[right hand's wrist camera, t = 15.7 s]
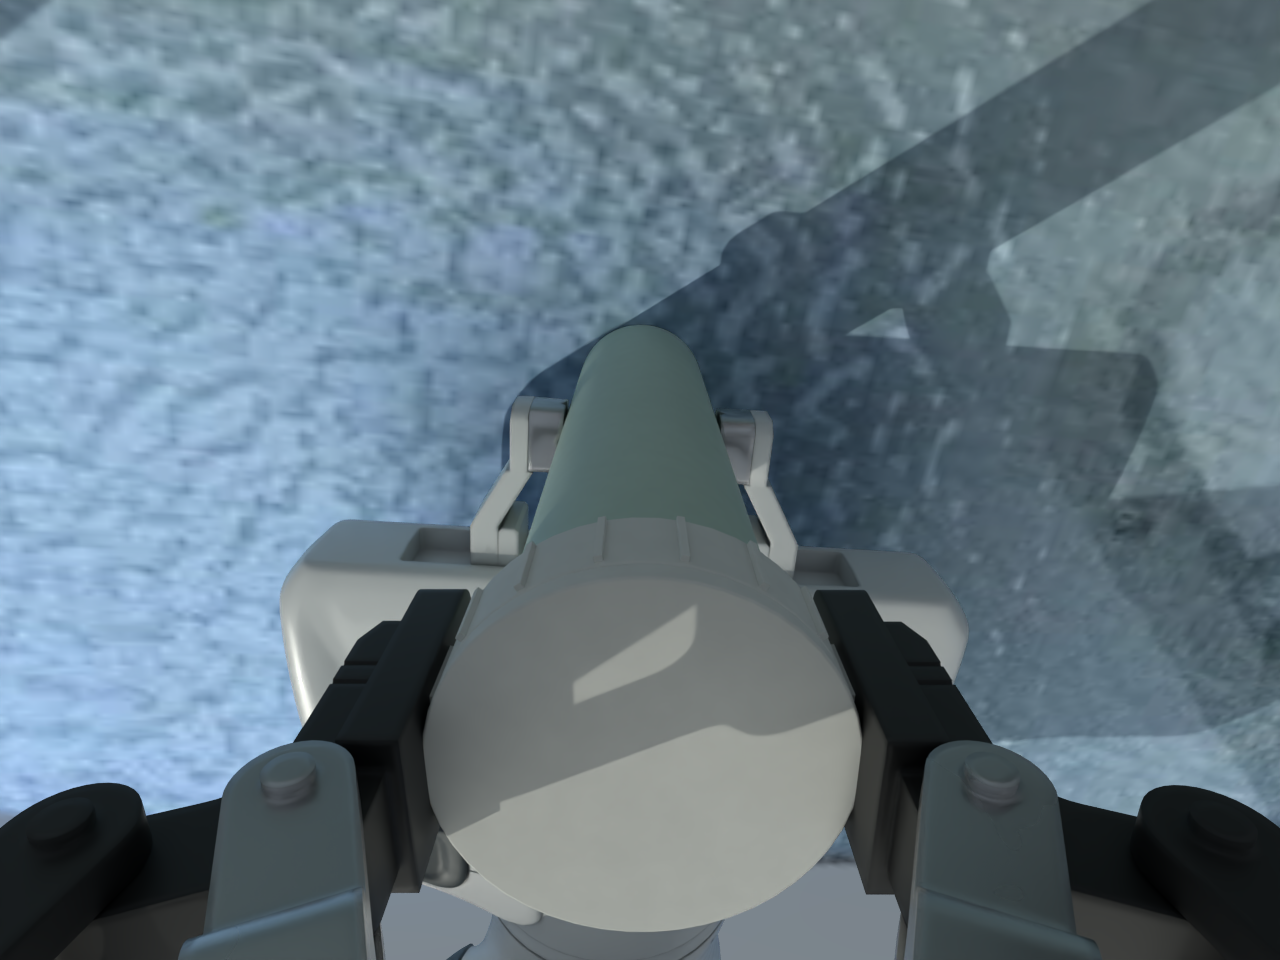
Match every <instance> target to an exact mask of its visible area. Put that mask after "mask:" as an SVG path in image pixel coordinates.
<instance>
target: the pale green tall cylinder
mask: <svg viewBox="0 0 1280 960" xmlns="http://www.w3.org/2000/svg"><path fill="white" fill-rule="evenodd" d="M603 516H606V519H607V520H613V519H622V518H632V517H633V518H664V519H671V520H676V517H677V516H682V517H685V521H686V522H690V523H693V524H697V525H701V526H705V527H709V528H712V529H715V530H717V531H720V532H722V533H725V534H727V535H730V536H732V537H735V538H737V539H739V540H741V541H742V542H744V543H746V544H748V542H749V541H750V540H751V541H753V542H755V543H756V544H757V546H758V543H757V540H756V537H755V534H754V531H753V528H752V525H751V522H750V519H749V516H748V513H747V510H746V507H745V504H744V501H743V498H742V495H741V492H740V489H739V486H738V483H737V480H736V477H735V474H734V471H733V468H732V465H731V462H730V459H729V456H728V453H727V450H726V447H725V444H724V441H723V438H722V435H721V432H720V429H719V426H718V423H717V420H716V417H715V414H714V411H713V408H712V405H711V402H710V399H709V396H708V393H707V390H706V387H705V384H704V381H703V378H702V375H701V372H700V369H699V366H698V363H697V361H696V359H695V357H694V355H693V353H692V352H691V350H690V349H689V348H688V346H687V345H686V344H685V343H684V342H683V341H682V340H681V339H679V338H678V337H677V336H676V335H674V334H672V333H671V332H669V331H667V330H664V329H662V328H659V327H655V326H650V325H631V326H626V327H622V328H620V329H617V330H615V331H613V332H611V333H609V334H607V335H606V336H605V337H603V338H602V339H601V340H600V341H599V342H598V343H597V344H596V345H595V346H594V347H593V348H592V350H591V351H590V352H589V354H588V356H587V358H586V360H585V362H584V364H583V367H582V370H581V373H580V377H579V380H578V383H577V386H576V389H575V392H574V395H573V398H572V401H571V405H570V408H569V411H568V414H567V417H566V420H565V423H564V426H563V429H562V432H561V436H560V439H559V442H558V445H557V448H556V451H555V454H554V457H553V460H552V464H551V467H550V470H549V473H548V476H547V479H546V482H545V485H544V488H543V492H542V495H541V498H540V501H539V504H538V507H537V510H536V513H535V516H534V520H533V523H532V526H531V529H530V532H529V535H528V538H527V541H526V544H525V547H526V545H527V544H528V543H530V542H532V541H533V542H534V543H535V545H537V544H539V543H541V542H542V541H544V540H546V539H548V538H550V537H552V536H554V535H557V534H560V533H562V532H565V531H568V530H570V529H573V528H576V527H579V526H583V525H587V524H592V523H596V522H597V520H598V517H603ZM525 547H524V550H525ZM758 549H759V546H758ZM759 551H760V549H759ZM523 553H524V551H523Z"/></svg>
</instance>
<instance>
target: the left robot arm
mask: <svg viewBox="0 0 1280 960" xmlns="http://www.w3.org/2000/svg"><path fill="white" fill-rule="evenodd" d="M568 411H569V401H568V399H558V398H545V397H535V396H517V398H516V400H515V401H514V403H513V405H512V411H511V418H510V459H509V460H508V462H507V463H506V465H505V466H504V468H503V470H502V471H501V473H500V474H499V476H498V477H497V479H496V481H495V482H494V484H493V485H492V487H491V488H490V490H489V492H488V493H487V495H486V496H485V498H484V500H483V502H482V504H481V506H480V508H479V510H478V511H477V513H476V515H475V517H474V519H473V521H472V523H471V525H470V527H469V526H452V525H435V524H419V523H402V522H385V521H369V520H351V519H350V520H342V521H339V522H337V523H335V524H334V525H333V526H331V527H330V528H329V529H328V530H327V531H326V532H325V533H324V534H323V535H322V536H321V537H320V538H318V539H317V540H316V541H315V542H314V543H313V544H312V545H311V546H310V547H309V548H308V549H307V550H306V551H305V552H304V553H303V555H302V556H301V557H300V558H299V560H298V561H297V562H296V563H295V565H294V566H293V567H292V569H291V570H290V572H289V573H288V575H287V576H286V578H285V581H284V583H283V586H282V588H281V593H280V619H281V627H282V635H283V642H284V648H285V654H286V660H287V665H288V671H289V676H290V680H291V685H292V689H293V694H294V698H295V702H296V706H297V710H298V714H299V718H300V721H301V725H302V728H303V726H304V724H305V723H306V721H307V720H308V718H309V716H310V715H311V713H312V712H313V710H314V708H315V707H316V705H317V704H318V702H319V700H320V699H321V697H322V696H323V694H324V692H325V691H326V689H327V688H328V686H329V684H332V683H333V678H334V676H335V675H336V673H337V672H338V670H339V668H340V667H341V665H344V660H345V659H346V657H347V656H348V654H349V652H350V651H351V649H352V648H353V646H354V644H355V643H356V641H357V640H358V639H359V638H360V637H362V636H363V635H364V634H366V633H367V632H368V631H370V630H371V629H372V628H374V627H375V626H376V625H378V624H379V623H381V622H382V621H401V620H402V618H403V616H404V614H405V612H406V611H407V609H408V607H409V605H410V603H411V601H412V600H413V598H414V596H415V594H416V593H417V591H418V590H419V589H467V590H468V591H469V593H470V596H471V598H472V596H473V593H474V591H475V590H476V589H477V588H478V587H479V588H481V589H482V590H483V589H484V588H485V587H486V586H487V584H488V583H489V582H490V581H491V579H492V578H493V577H494V576H496V575H497V574H498V573H499V572H500V571H501V570H502V569H503V568H504V567H505V566H506V565H507V564H508V563H510V562H511V561H512V560H514V559H515V558H517V557H518V556H519V555H521V554H522V553H523V551H524V547H525V544H526V541H527V538H528V535H529V532H530V530H528V504H527V503H526V502H524V501H515V500H516V498H517V496H518V495H519V493H520V492H521V490H522V489H523V487H524V485H525V484H526V482H527V481H528V479H529V478H530V476H531V475H532V473H533V472H549V470H550V467H551V464H552V460H553V457H554V454H555V451H556V448H557V445H558V442H559V439H560V436H561V432H562V429H563V426H564V423H565V420H566V417H567V414H568ZM715 417H716V420H717V423H718V426H719V429H720V432H721V435H722V438H723V441H724V444H725V447H726V450H727V453H728V456H729V459H730V462H731V465H732V468H733V471H734V474H735V477H736V480H737V483H738V484H744V487H745V489H746V491H747V493H748V496H749V498H750V500H751V502H752V504H753V506H754V508H755V510H756V513H757V515H758V517H759V518H758V517H757V516H756V515H748V516H749V519H750V522H751V525H752V528H753V531H754V534H755V537H756V540H757V543H758V546H759V549H760V552H761V553H763V554H764V555H765V556H767V557H768V558H769V559H771V560H772V561H773V562H775V563H776V564H777V565H779V566H780V567H781V568H782V569H783V570H784V571H785V572H786V573H787V574H788V575H789V576H790V577H791V578H792V579H793V580H794V581H795V582H796V583H797V585H798V586H799V587H800V589H801V588H802V587H804V586H806V587H807V588H808V589H809V591H810V593H811V595H812V598H813V596H814V593H815V591H816V590H865V591H866V592H867V593H868V595H869V596H870V598H871V600H872V602H873V603H874V605H875V607H876V609H877V611H878V612H879V614H880V616H881V618H882V619H883V621H884V622H903V623H904V624H905V625H907V626H908V627H909V628H911V629H912V630H914V631H915V632H916V633H918V634H919V635H920V636H922V637H923V638H924V639H926V640H927V641H928V643H929V644H930V646H931V648H932V649H933V651H934V652H935V654H936V655H937V657H938V659H939V660H940V662H941V666H944V668H945V670H946V671H947V673H948V674H949V676H950V678H951V679H952V684H953V685H954V682H955V679H956V676H957V674H958V671H959V668H960V665H961V662H962V659H963V656H964V653H965V649H966V645H967V642H968V636H969V626H968V621H967V618H966V616H965V613H964V611H963V609H962V608H961V606H960V604H959V602H958V601H957V599H956V598H955V596H954V595H953V593H952V592H951V590H950V589H949V587H948V586H947V584H946V583H945V582H944V581H943V580H942V578H941V577H940V576H939V575H938V574H937V573H936V572H935V571H934V570H933V568H932V567H931V566H930V565H929V564H928V563H927V562H926V561H925V560H924V559H923V558H922V557H920V556H919V555H917V554H914V553H907V552H894V551H877V550H860V549H843V548H826V547H809V546H798V544H797V542H796V539H795V537H794V535H793V533H792V530H791V528H790V526H789V523H788V521H787V519H786V517H785V514H784V512H783V510H782V508H781V506H780V504H779V501H778V499H777V497H776V495H775V493H774V491H773V488H772V486H771V484H770V482H769V480H768V474H769V466H770V458H771V451H772V443H773V422H772V419H771V418H770V416H769V414H768V413H767V411H758V410H742V409H722V408H717V410H716V414H715ZM422 884H423V885H426V886H429V887H431V888H434V889H437V890H440V891H442V892H445V893H447V894H450V895H453V896H455V897H457V898H460V899H462V900H464V901H467V902H469V903H471V904H473V905H475V906H477V907H479V908H481V909H483V910H485V911H487V912H489V913H491V914H492V919H491V923H490V926H489V928H488V931H487V934H486V936H485V938H484V940H483V941H482V942H481V943H480V944H479V945H477V946H473V944H469V945H467V946H465V947H464V948H462V949H460V950H459V951H457V952H456V953H454V954H453V955H452V956H451V957H449V958H448V959H447V960H721V955H720V944H719V938H718V932H719V931H720V928H721V926H722V924H723V922H724V920H725V919H723V920H720V921H716V922H713V923H709V924H706V925H701V926H696V927H690V928H685V929H679V930H669V931H657V932H625V931H616V930H606V929H599V928H594V927H589V926H584V925H579V924H574V923H571V922H568V921H565V920H562V919H558V918H555V917H552V916H549V915H547V914H545V913H542V912H540V911H538V910H535V909H533V908H530V907H528V906H526V905H524V904H523V903H521V902H519V901H517V900H515V899H514V898H512V897H510V896H508V895H506V894H505V893H503V892H502V891H501V890H499V889H498V888H497V887H495V886H494V885H492V884H491V883H490V882H488V881H487V880H485V879H484V878H483V877H482V876H481V875H480V874H479V873H478V872H477V871H476V870H475V869H473V868H472V867H471V866H470V865H469V864H468V863H467V862H466V861H465V859H464V858H463V857H462V856H461V855H460V854H459V852H458V851H457V850H456V849H455V848H454V846H453V845H452V844H451V842H450V841H449V839H448V837H447V836H446V834H445V833H444V831H443V829H442V828H441V826H440V828H439V831H438V834H437V837H436V841H435V844H434V847H433V850H432V853H431V857H430V860H429V863H428V866H427V869H426V873H425V876H424V879H423V882H422Z"/></svg>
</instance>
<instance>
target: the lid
mask: <svg viewBox="0 0 1280 960" xmlns="http://www.w3.org/2000/svg"><path fill="white" fill-rule="evenodd" d="M828 637H829V636H828V633H827V631H826V628H825V626H824V624H823V621H822V619H821V617H820V614H819V612H818V610H817V607H816V605H815V602H814V600H813V598H812V595H811V593H810V591H809V589H808V588H807V587H806V586H804V587H802V588H801V589H800V587H799V586H798V585H797V583H796V582H795V581H794V580H793V579H792V578H791V577H790V576H789V575H788V574H787V573H786V572H785V571H784V570H783V569H782V568H781V567H780V566H779V565H777V564H776V563H775V562H773V561H772V560H771V559H769V558H768V557H767V556H765V555H764V554H763V553H761V552H760V551H759V549H758V546H757V544H756V543H755V542H753V541H751V540H750V541H749V542H748V544H746V543H744V542H742V541H741V540H739V539H737V538H735V537H732V536H730V535H727V534H725V533H722V532H720V531H717V530H715V529H712V528H709V527H705V526H701V525H697V524H693V523H690V522H686V521H685V517H682V516H677V517H676V520H671V519H664V518H633V517H632V518H622V519H613V520H607V519H606V516H603V517H598V520H597V522H596V523H592V524H587V525H583V526H579V527H576V528H573V529H570V530H568V531H565V532H562V533H560V534H557V535H554V536H552V537H550V538H548V539H546V540H544V541H542V542H541V543H539V544H537V545H535V543H534V542H533V541H532V542H530V543H528V544H527V545H526V547H525V550H524V553H522V554H521V555H519V556H518V557H517V558H515V559H514V560H512V561H511V562H510V563H508V564H507V565H506V566H505V567H504V568H503V569H502V570H501V571H500V572H499V573H498V574H497V575H496V576H494V577H493V578H492V579H491V581H490V582H489V583H488V584H487V586H486V587H485V588H484V589H483V590H482V589H481V588H479V587H478V588H477V589H476V590H475V591H474V593H473V596H472V598H471V601H470V603H469V605H468V608H467V610H466V613H465V615H464V618H463V620H462V623H461V625H460V627H459V630H458V632H457V635H456V637H455V639H456V642H455V644H454V646H450V648H449V650H448V652H447V655H446V657H445V660H444V662H443V665H442V667H441V669H440V672H439V674H438V677H437V679H436V681H435V684H434V686H433V689H432V691H431V694H430V696H429V697H430V706H429V708H428V712H427V716H426V721H425V725H424V730H423V750H424V759H425V767H426V776H427V784H428V791H429V798H430V804H431V807H432V809H433V811H434V813H435V816H436V818H437V820H438V822H439V825H440V826H441V828H442V829H443V831H444V833H445V834H446V836H447V837H448V839H449V841H450V842H451V844H452V845H453V846H454V848H455V849H456V850H457V851H458V852H459V854H460V855H461V856H462V857H463V858H464V859H465V861H466V862H467V863H468V864H469V865H470V866H471V867H472V868H473V869H475V870H476V871H477V872H478V873H479V874H480V875H481V876H482V877H483V878H484V879H485V880H487V881H488V882H490V883H491V884H492V885H494V886H495V887H497V888H498V889H499V890H501V891H502V892H503V893H505V894H506V895H508V896H510V897H512V898H514V899H515V900H517V901H519V902H521V903H523V904H524V905H526V906H528V907H530V908H533V909H535V910H538V911H540V912H542V913H545V914H547V915H549V916H552V917H555V918H558V919H562V920H565V921H568V922H571V923H574V924H579V925H584V926H589V927H594V928H599V929H606V930H616V931H625V932H657V931H669V930H679V929H685V928H690V927H696V926H701V925H706V924H709V923H713V922H716V921H720V920H723V919H727V918H730V917H732V916H735V915H737V914H740V913H742V912H745V911H747V910H750V909H752V908H754V907H756V906H758V905H760V904H762V903H763V902H765V901H767V900H769V899H771V898H773V897H775V896H776V895H778V894H779V893H781V892H782V891H784V890H785V889H787V888H788V887H790V886H791V885H792V884H794V883H795V882H796V881H798V880H799V879H800V878H801V877H802V876H803V875H804V874H806V873H807V872H808V871H809V870H810V869H811V868H813V867H814V866H815V864H816V863H817V862H818V861H819V860H820V859H821V858H822V857H823V856H824V854H825V853H826V852H827V851H828V850H829V849H830V847H831V846H832V844H833V843H834V841H835V840H836V838H837V837H838V836H839V834H840V833H841V831H842V830H843V828H844V826H845V824H846V821H847V819H848V817H849V815H850V813H851V811H852V809H853V806H854V801H855V795H856V787H857V779H858V771H859V764H860V756H861V746H862V730H861V724H860V719H859V714H858V711H857V709H856V706H855V703H854V701H855V693H854V690H853V688H852V686H851V683H850V681H849V678H848V676H847V674H846V671H845V669H844V667H843V664H842V662H841V660H840V657H839V655H838V652H837V650H836V648H835V645H834V644H830V642H829V639H828Z"/></svg>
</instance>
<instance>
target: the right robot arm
mask: <svg viewBox="0 0 1280 960" xmlns="http://www.w3.org/2000/svg"><path fill="white" fill-rule="evenodd" d="M813 600H814V602H815V605H816V607H817V610H818V612H819V614H820V617H821V619H822V621H823V624H824V626H825V628H826V631H827V633H828V636H829V637H828V639H829V642H830V644H834V645H835V648H836V650H837V652H838V655H839V657H840V660H841V662H842V664H843V667H844V669H845V671H846V674H847V676H848V678H849V681H850V683H851V686H852V688H853V690H854V693H855V701H854V703H855V706H856V709H857V711H858V714H859V719H860V724H861V730H862V746H861V756H860V764H859V771H858V779H857V787H856V795H855V801H854V806H853V809H852V811H851V813H850V815H849V817H848V819H847V821H846V824H845V826H844V827H845V830H846V833H847V836H848V839H849V842H850V846H851V849H852V852H853V855H854V858H855V861H856V864H857V868H858V870H859V874H860V877H861V880H862V883H863V886H864V889H865V892H866V894H895V897H896V900H897V902H898V905H899V908H900V911H901V915H900V921H899V927H898V934H897V941H896V950H895V960H1280V828H1279V827H1278V826H1277V825H1275V824H1274V823H1273V822H1271V821H1270V820H1269V819H1267V818H1266V817H1264V816H1263V815H1262V814H1260V813H1258V812H1257V811H1255V810H1253V809H1252V808H1250V807H1248V806H1246V805H1244V804H1242V803H1240V802H1238V801H1236V800H1234V799H1231V798H1229V797H1227V796H1224V795H1222V794H1218V793H1215V792H1212V791H1209V790H1205V789H1201V788H1197V787H1190V786H1181V785H1170V786H1162V787H1158V788H1155V789H1153V790H1151V791H1149V792H1148V793H1147V794H1146V795H1145V796H1144V798H1143V800H1142V802H1141V805H1140V809H1139V812H1138V816H1137V817H1136V816H1132V815H1127V814H1123V813H1118V812H1114V811H1110V810H1105V809H1101V808H1097V807H1092V806H1088V805H1083V804H1080V803H1076V802H1072V801H1069V800H1066V799H1063V798H1060V797H1058V796H1057V792H1056V790H1055V788H1054V786H1053V784H1052V782H1051V781H1050V780H1049V778H1048V777H1047V776H1046V775H1045V774H1044V773H1043V772H1042V771H1041V770H1040V769H1039V768H1038V767H1037V766H1035V765H1034V764H1033V763H1032V762H1030V761H1029V760H1027V759H1025V758H1024V757H1022V756H1021V755H1019V754H1017V753H1015V752H1013V751H1011V750H1008V749H1005V748H1003V747H1000V746H997V745H993V744H992V742H991V741H990V739H989V737H988V736H987V734H986V733H985V731H984V730H983V728H982V726H981V725H980V723H979V722H978V720H977V719H976V717H975V715H974V714H973V712H972V711H971V709H970V707H969V706H968V704H967V703H966V701H965V700H964V698H963V696H962V695H961V693H960V692H959V690H958V689H957V687H956V685H953V684H952V679H951V678H950V676H949V674H948V673H947V671H946V670H945V668H944V666H941V662H940V660H939V659H938V657H937V655H936V654H935V652H934V651H933V649H932V648H931V646H930V644H929V643H928V641H927V640H926V639H924V638H923V637H922V636H920V635H919V634H918V633H916V632H915V631H914V630H912V629H911V628H909V627H908V626H907V625H905V624H904V623H903V622H884V621H883V619H882V618H881V616H880V614H879V612H878V611H877V609H876V607H875V605H874V603H873V602H872V600H871V598H870V596H869V595H868V593H867V592H866V591H865V590H816V591H815V593H814V596H813ZM470 601H471V596H470V593H469V591H468V590H467V589H419V590H418V591H417V593H416V594H415V596H414V598H413V600H412V601H411V603H410V605H409V607H408V609H407V611H406V612H405V614H404V616H403V618H402V620H401V621H382V622H381V623H379V624H378V625H376V626H375V627H374V628H372V629H371V630H370V631H368V632H367V633H366V634H364V635H363V636H362V637H360V638H359V639H358V640H357V641H356V643H355V644H354V646H353V648H352V649H351V651H350V652H349V654H348V656H347V657H346V659H345V660H344V665H341V667H340V668H339V670H338V672H337V673H336V675H335V676H334V678H333V683H332V684H329V686H328V688H327V689H326V691H325V692H324V694H323V696H322V697H321V699H320V700H319V702H318V704H317V705H316V707H315V708H314V710H313V712H312V713H311V715H310V716H309V718H308V720H307V721H306V723H305V724H304V726H303V728H302V729H301V731H300V732H299V734H298V736H297V737H296V739H295V740H294V742H293V743H290V744H287V745H283V746H280V747H277V748H275V749H272V750H269V751H267V752H265V753H263V754H261V755H259V756H258V757H256V758H255V759H253V760H251V761H250V762H248V763H247V764H246V765H245V766H243V767H242V768H241V769H240V770H239V771H238V772H237V773H236V774H235V775H234V776H233V777H232V778H231V780H230V781H229V782H228V784H227V786H226V788H225V790H224V792H223V796H222V798H219V799H216V800H212V801H208V802H205V803H200V804H196V805H192V806H187V807H183V808H178V809H174V810H170V811H165V812H161V813H157V814H152V815H148V816H146V814H145V810H144V807H143V803H142V800H141V798H140V796H139V794H138V793H137V792H136V791H135V790H134V789H132V788H130V787H129V786H126V785H122V784H117V783H96V784H90V785H84V786H80V787H76V788H72V789H69V790H66V791H63V792H60V793H58V794H55V795H53V796H50V797H48V798H46V799H44V800H42V801H40V802H38V803H36V804H34V805H32V806H31V807H29V808H27V809H26V810H24V811H22V812H21V813H19V814H18V815H17V816H15V817H14V818H13V819H11V820H10V821H9V822H7V823H6V824H5V825H3V826H2V827H1V828H0V960H385V951H384V941H383V933H382V927H381V920H382V917H383V914H384V911H385V908H386V905H387V903H388V900H389V897H390V894H391V893H419V892H420V889H421V885H422V882H423V879H424V876H425V873H426V869H427V866H428V863H429V860H430V857H431V853H432V850H433V847H434V844H435V841H436V837H437V834H438V831H439V828H440V825H439V822H438V820H437V818H436V816H435V813H434V811H433V809H432V807H431V804H430V798H429V791H428V784H427V776H426V767H425V759H424V750H423V730H424V725H425V721H426V716H427V712H428V708H429V706H430V697H429V696H430V694H431V691H432V689H433V686H434V684H435V681H436V679H437V677H438V674H439V672H440V669H441V667H442V665H443V662H444V660H445V657H446V655H447V652H448V650H449V648H450V646H454V644H455V642H456V639H455V637H456V635H457V632H458V630H459V627H460V625H461V623H462V620H463V618H464V615H465V613H466V610H467V608H468V605H469V603H470Z"/></svg>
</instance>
